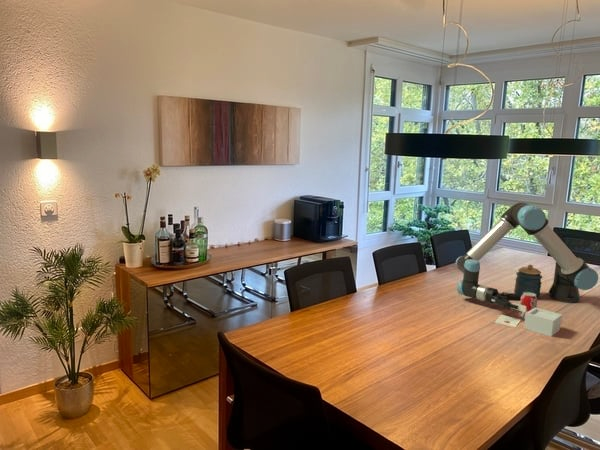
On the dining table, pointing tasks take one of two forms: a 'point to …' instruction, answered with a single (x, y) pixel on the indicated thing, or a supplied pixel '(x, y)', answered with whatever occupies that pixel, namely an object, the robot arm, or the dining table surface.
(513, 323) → the cream flat plate
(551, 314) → the base block
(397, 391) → the dining table surface
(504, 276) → the dining table surface
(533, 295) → the soda can
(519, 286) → the canister
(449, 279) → the dining table surface
